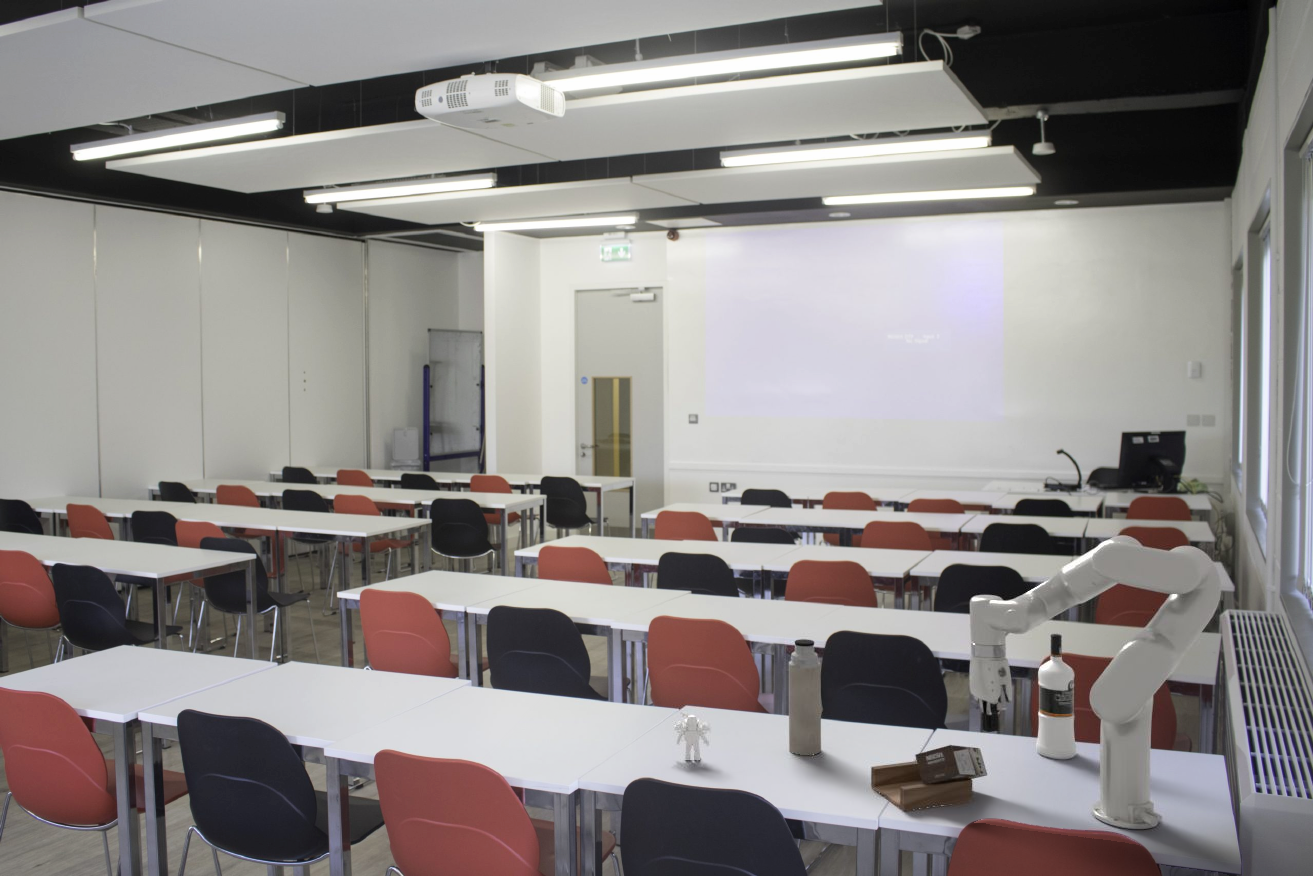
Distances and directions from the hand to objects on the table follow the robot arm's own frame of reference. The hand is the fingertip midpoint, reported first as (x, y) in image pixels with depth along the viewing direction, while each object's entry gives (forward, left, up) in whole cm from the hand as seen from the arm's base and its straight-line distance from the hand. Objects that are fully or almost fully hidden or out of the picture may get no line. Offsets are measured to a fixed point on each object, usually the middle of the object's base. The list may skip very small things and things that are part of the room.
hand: (990, 730), depth 223 cm
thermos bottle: (+35, +30, -13) cm, 48 cm away
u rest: (+1, +18, -13) cm, 22 cm away
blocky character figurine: (+38, +59, -13) cm, 71 cm away
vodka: (+13, -28, -13) cm, 34 cm away
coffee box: (+2, +5, -8) cm, 10 cm away
